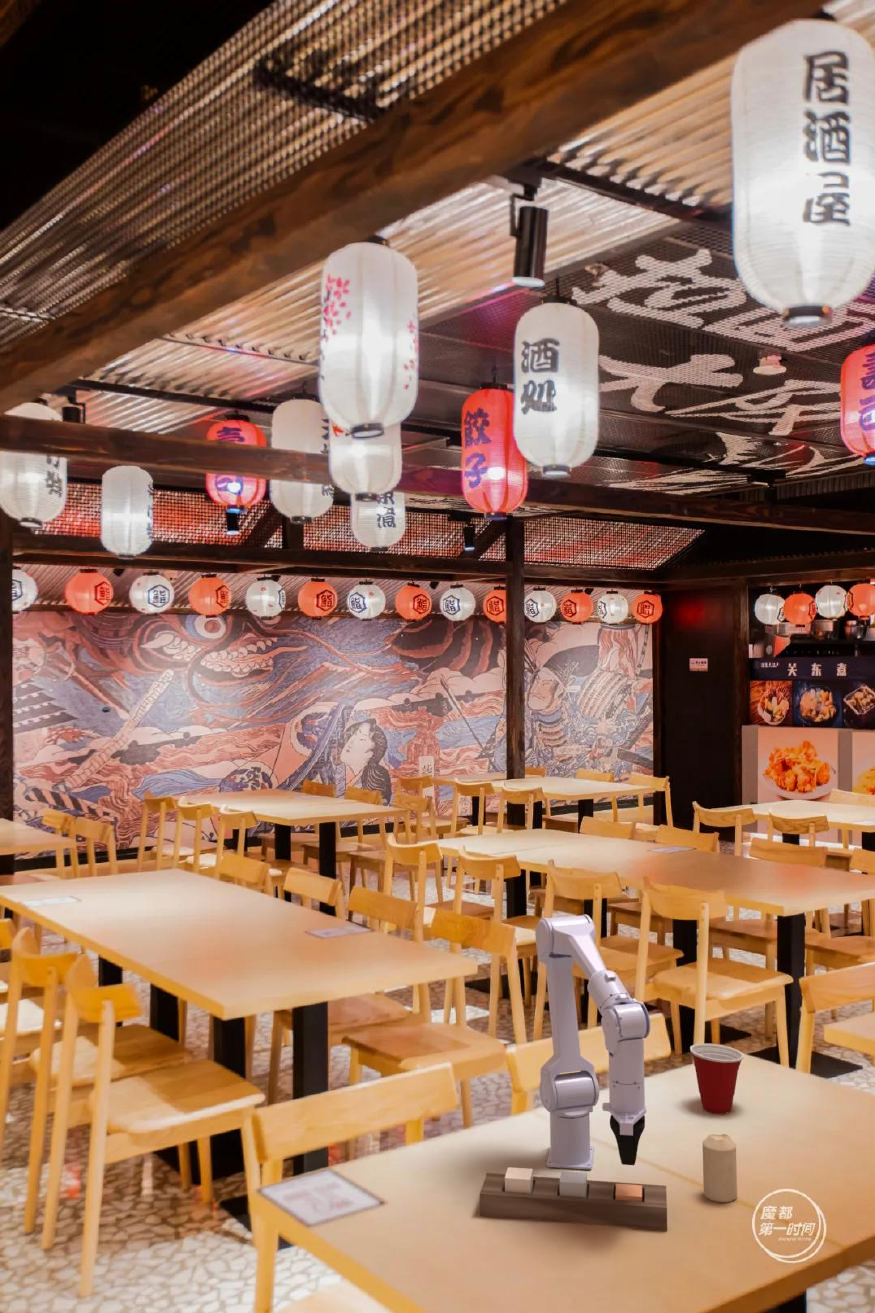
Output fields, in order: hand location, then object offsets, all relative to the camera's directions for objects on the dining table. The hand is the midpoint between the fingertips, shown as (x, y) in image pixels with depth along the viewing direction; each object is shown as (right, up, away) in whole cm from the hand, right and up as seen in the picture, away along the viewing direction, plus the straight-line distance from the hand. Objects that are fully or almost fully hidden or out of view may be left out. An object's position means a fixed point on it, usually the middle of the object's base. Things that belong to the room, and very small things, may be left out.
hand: (628, 1163), depth 177 cm
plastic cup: (+26, -10, +45) cm, 54 cm away
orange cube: (0, -8, 0) cm, 8 cm away
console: (-9, -9, +1) cm, 12 cm away
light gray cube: (-9, -7, +1) cm, 11 cm away
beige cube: (-18, -7, +3) cm, 19 cm away
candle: (+17, -9, +7) cm, 20 cm away
